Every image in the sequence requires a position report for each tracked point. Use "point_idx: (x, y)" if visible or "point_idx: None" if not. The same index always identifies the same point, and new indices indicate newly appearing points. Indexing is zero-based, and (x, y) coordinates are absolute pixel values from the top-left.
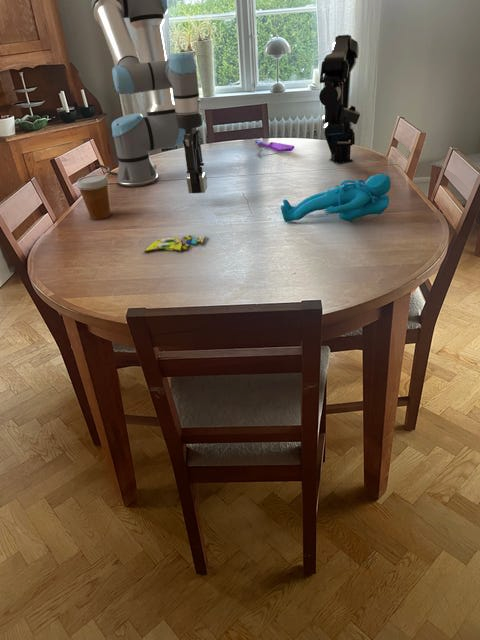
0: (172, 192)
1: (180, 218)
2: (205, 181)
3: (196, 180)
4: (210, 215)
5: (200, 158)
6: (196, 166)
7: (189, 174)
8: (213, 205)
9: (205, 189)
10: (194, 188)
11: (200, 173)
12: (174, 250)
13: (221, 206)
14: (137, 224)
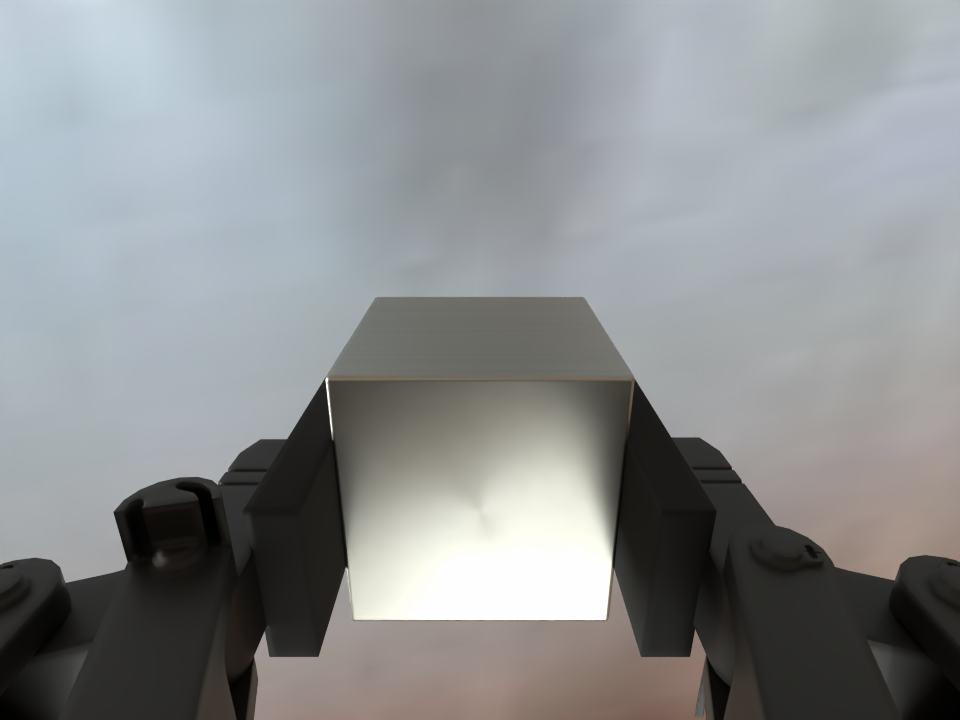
0: None
1: (837, 436)
2: (439, 331)
3: (704, 461)
4: (850, 161)
5: (125, 680)
6: (826, 635)
7: (390, 620)
8: (545, 180)
9: (507, 301)
10: None
11: (350, 464)
12: None
13: (593, 74)
14: None
